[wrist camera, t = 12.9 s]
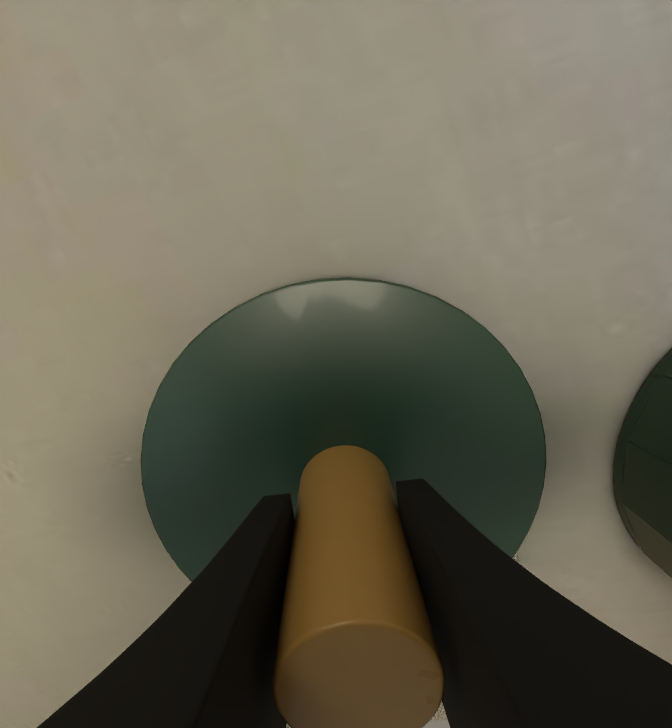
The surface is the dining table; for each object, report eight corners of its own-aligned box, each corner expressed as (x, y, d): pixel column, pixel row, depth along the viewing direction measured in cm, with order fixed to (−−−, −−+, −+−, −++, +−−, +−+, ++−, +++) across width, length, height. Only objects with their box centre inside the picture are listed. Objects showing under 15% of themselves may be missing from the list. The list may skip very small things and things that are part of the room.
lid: (523, 591, 12) (702, 890, 6) (200, 626, 12) (84, 949, 7) (529, 253, 10) (851, 230, 4) (115, 302, 10) (-218, 358, 4)
